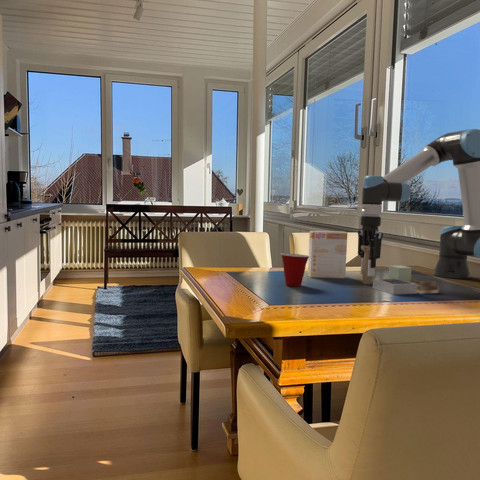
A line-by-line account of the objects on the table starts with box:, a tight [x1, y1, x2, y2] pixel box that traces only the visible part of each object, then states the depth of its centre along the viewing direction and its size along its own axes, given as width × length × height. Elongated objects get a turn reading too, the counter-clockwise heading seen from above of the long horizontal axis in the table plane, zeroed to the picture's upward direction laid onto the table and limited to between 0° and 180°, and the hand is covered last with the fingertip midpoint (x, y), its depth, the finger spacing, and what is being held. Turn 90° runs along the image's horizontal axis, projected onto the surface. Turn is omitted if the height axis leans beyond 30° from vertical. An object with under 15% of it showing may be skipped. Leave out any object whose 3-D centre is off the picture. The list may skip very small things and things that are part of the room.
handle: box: [361, 246, 374, 285], centre depth 176 cm, size 5×6×15 cm
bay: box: [382, 276, 440, 294], centre depth 173 cm, size 8×22×4 cm, turn 19°
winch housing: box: [372, 278, 418, 296], centre depth 164 cm, size 10×12×4 cm
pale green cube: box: [387, 265, 413, 282], centre depth 178 cm, size 6×6×6 cm
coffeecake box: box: [307, 230, 348, 279], centre depth 191 cm, size 15×7×20 cm, turn 92°
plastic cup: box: [280, 252, 310, 287], centre depth 168 cm, size 11×11×12 cm
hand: (367, 274), depth 177 cm, fingers closed on handle, 4 cm apart
